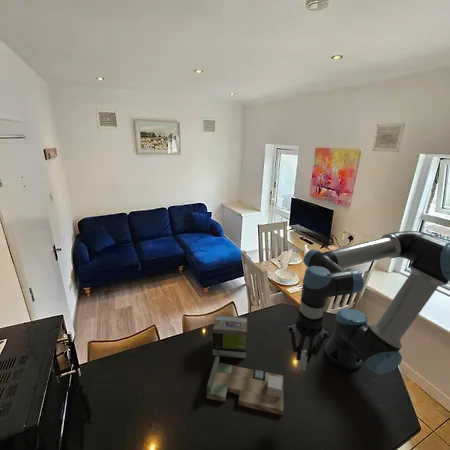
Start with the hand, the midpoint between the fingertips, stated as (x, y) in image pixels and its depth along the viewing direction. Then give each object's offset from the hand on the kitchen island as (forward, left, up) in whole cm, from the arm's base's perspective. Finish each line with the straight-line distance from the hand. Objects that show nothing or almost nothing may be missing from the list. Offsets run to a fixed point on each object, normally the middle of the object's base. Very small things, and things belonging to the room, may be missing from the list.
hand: (301, 366), depth 90 cm
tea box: (+29, -18, -17) cm, 38 cm away
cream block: (+9, 0, -14) cm, 16 cm away
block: (+15, -5, -17) cm, 23 cm away
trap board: (+19, 0, -16) cm, 25 cm away
